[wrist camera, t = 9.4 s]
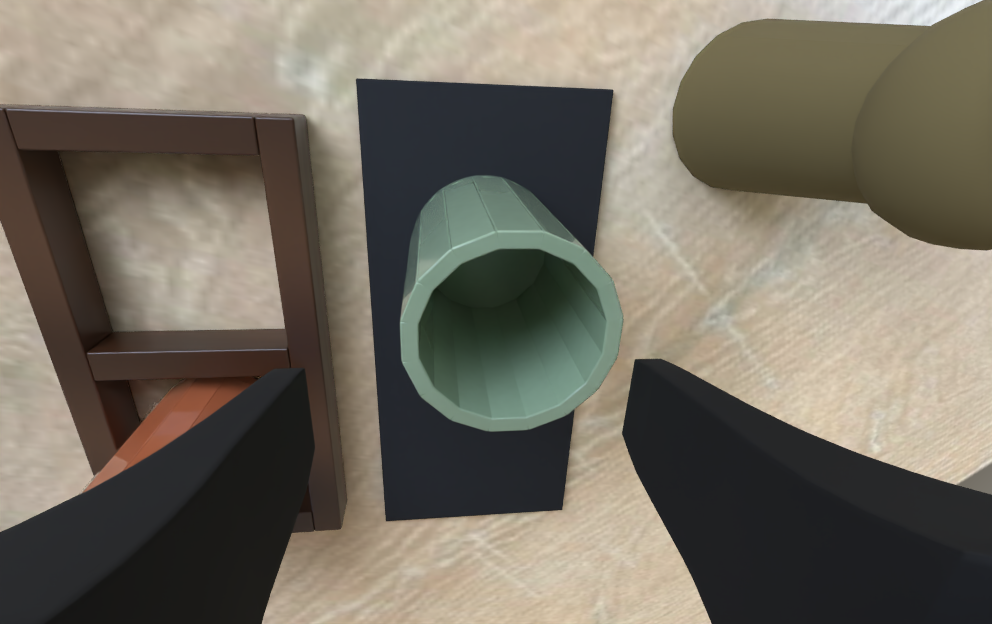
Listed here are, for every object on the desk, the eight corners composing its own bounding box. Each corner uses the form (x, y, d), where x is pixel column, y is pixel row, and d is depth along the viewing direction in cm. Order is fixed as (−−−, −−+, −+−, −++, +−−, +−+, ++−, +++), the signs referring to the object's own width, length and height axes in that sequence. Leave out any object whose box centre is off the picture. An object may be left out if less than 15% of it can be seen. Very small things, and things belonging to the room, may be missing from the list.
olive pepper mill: (825, 163, 20) (1204, 235, 10) (683, 209, 20) (923, 326, 10) (823, -5, 18) (1322, -120, 8) (660, 49, 18) (951, 3, 8)
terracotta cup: (302, 472, 24) (260, 601, 18) (174, 478, 23) (85, 615, 17) (287, 368, 21) (232, 476, 15) (144, 372, 21) (29, 486, 15)
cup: (547, 311, 21) (607, 427, 14) (413, 313, 21) (404, 436, 13) (559, 176, 19) (638, 231, 12) (409, 173, 18) (395, 230, 11)
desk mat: (560, 505, 26) (562, 510, 26) (386, 516, 25) (385, 521, 25) (611, 89, 18) (614, 89, 18) (357, 78, 17) (356, 78, 17)
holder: (347, 500, 25) (341, 530, 23) (139, 512, 23) (117, 545, 22) (306, 114, 17) (293, 117, 16) (4, 104, 16) (-43, 106, 15)
